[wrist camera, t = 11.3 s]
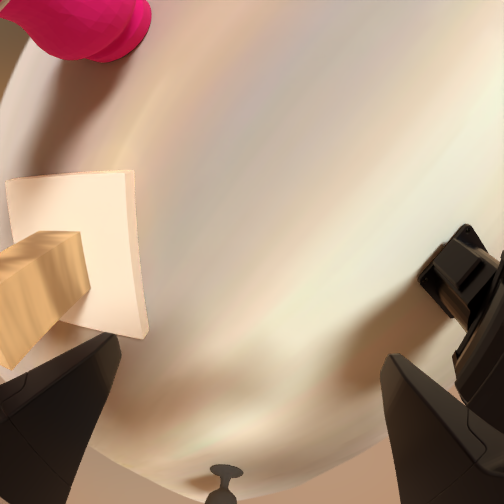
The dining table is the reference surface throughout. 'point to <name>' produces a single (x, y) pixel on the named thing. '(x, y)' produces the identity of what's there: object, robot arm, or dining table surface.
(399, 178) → the dining table surface
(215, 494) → the sundae
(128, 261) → the plate
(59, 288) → the oak block
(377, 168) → the dining table surface
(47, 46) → the pepper mill
